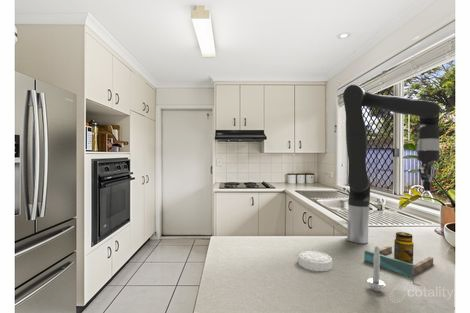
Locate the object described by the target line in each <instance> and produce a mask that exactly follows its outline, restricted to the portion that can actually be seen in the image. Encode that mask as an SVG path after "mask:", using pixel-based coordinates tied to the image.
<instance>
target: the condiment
mask: <svg viewBox="0 0 470 313" xmlns="http://www.w3.org/2000/svg"><path fill="white" fill-rule="evenodd" d="M413 241H414V240H413V235H412V234H411V233H409V232H404V231H398V232H396V233H395V239H394V242H393V243H394V246H393V249H394V250H393V258H394V259H398V260H401V261H404V262H407V263H411V264H413V265H414V242H413Z"/></svg>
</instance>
